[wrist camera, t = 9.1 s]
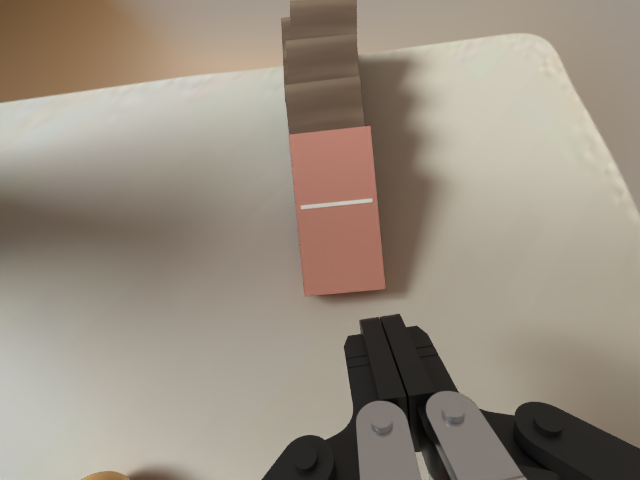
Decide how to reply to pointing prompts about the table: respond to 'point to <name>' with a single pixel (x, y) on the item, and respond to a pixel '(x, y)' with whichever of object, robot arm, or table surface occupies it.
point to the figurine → (106, 476)
